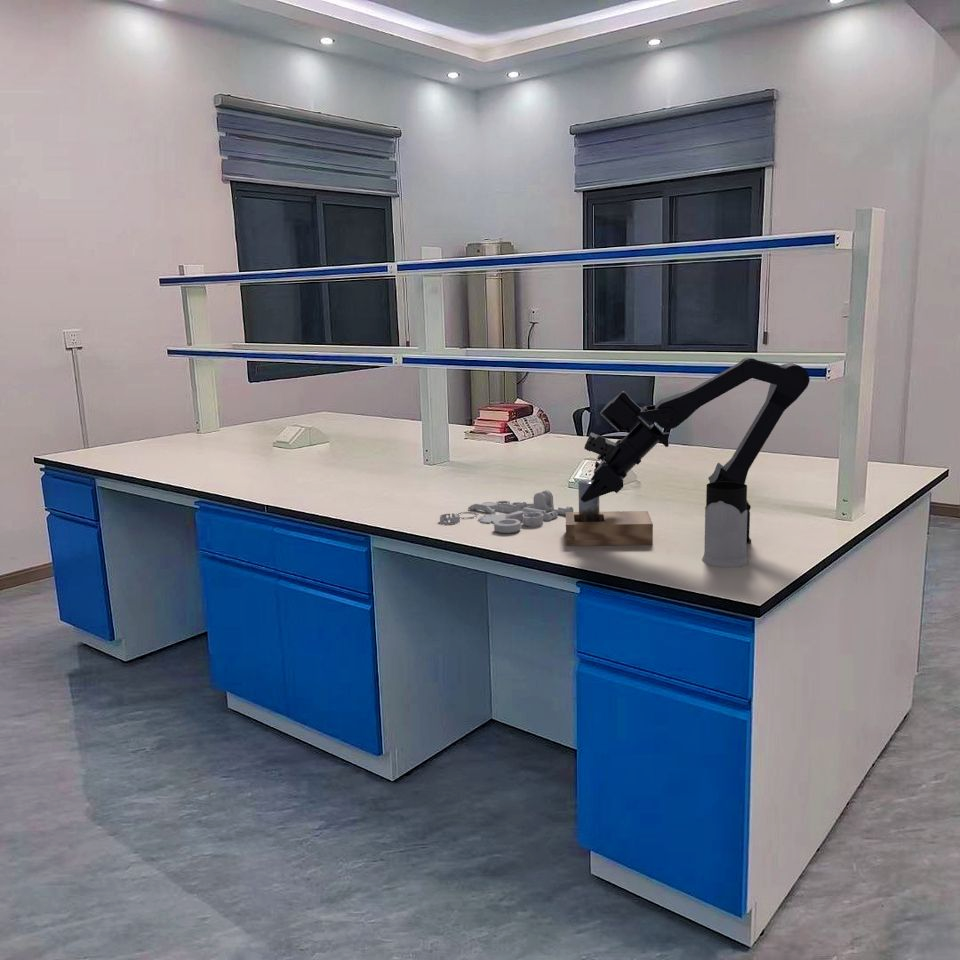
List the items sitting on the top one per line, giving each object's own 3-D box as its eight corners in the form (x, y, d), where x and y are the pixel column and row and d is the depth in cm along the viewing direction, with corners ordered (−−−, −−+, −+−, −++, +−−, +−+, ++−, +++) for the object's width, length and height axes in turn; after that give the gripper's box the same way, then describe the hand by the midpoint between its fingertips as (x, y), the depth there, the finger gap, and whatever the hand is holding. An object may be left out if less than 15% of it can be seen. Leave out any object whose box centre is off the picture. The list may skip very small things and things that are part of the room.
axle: (602, 525, 188) (601, 480, 186) (595, 531, 184) (594, 485, 182) (583, 524, 190) (582, 479, 188) (576, 529, 186) (575, 483, 184)
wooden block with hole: (647, 530, 191) (647, 510, 191) (652, 544, 181) (652, 523, 180) (566, 531, 193) (565, 512, 192) (566, 545, 182) (565, 524, 182)
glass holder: (696, 563, 167) (697, 488, 164) (716, 544, 179) (718, 474, 176) (741, 569, 163) (743, 492, 160) (760, 549, 175) (762, 477, 171)
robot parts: (430, 524, 207) (428, 502, 206) (498, 502, 225) (497, 482, 224) (508, 540, 191) (508, 517, 190) (575, 515, 209) (575, 494, 208)
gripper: (607, 414, 190) (558, 463, 195) (605, 427, 172) (551, 481, 177) (644, 448, 191) (594, 497, 195) (646, 465, 173) (591, 518, 177)
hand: (582, 497), depth 186 cm, fingers closed on axle, 4 cm apart
